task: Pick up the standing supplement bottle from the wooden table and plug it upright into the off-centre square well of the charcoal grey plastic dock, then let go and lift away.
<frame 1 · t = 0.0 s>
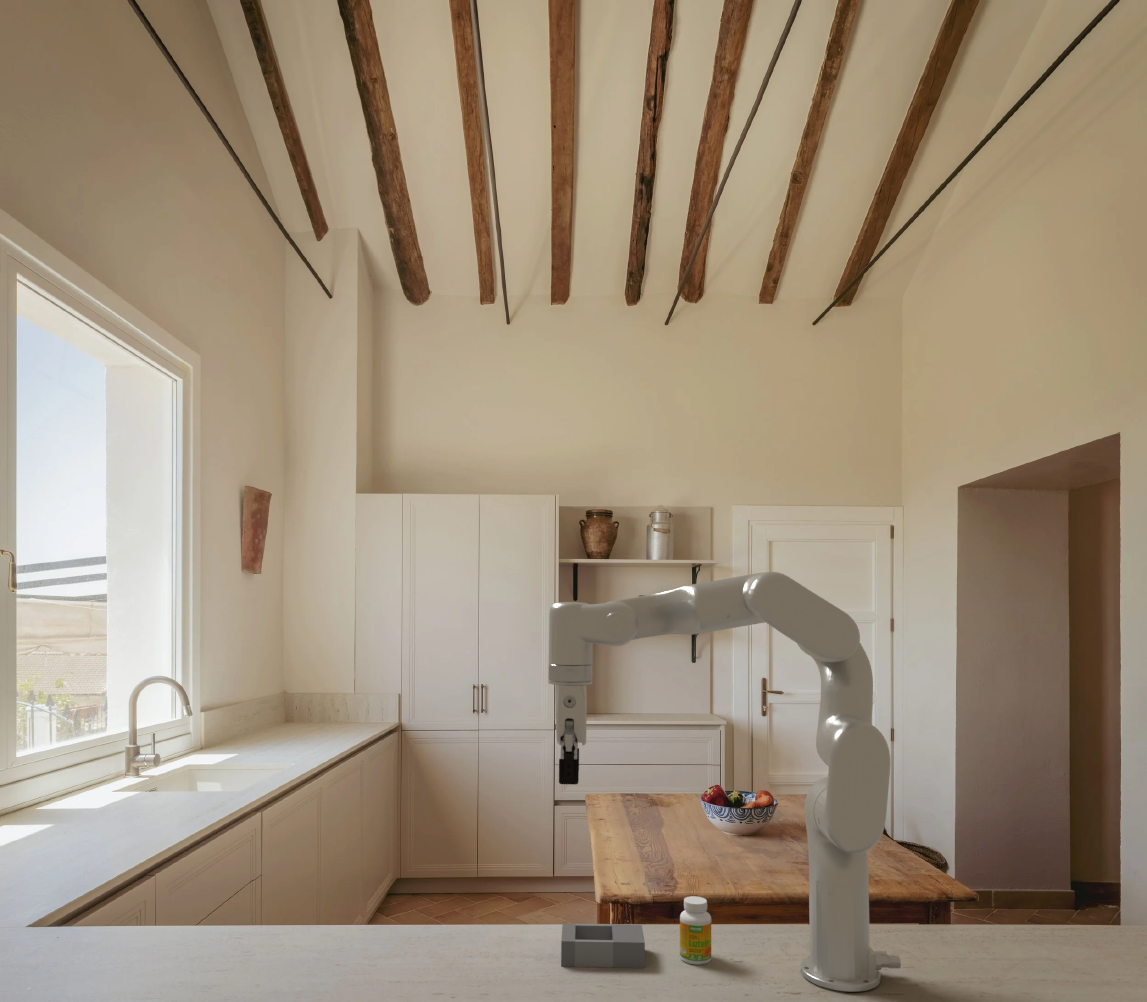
hand: (569, 777, 150), 31 cm above the countertop, tool pointing down, fingers open, 9 cm apart
dock: (602, 957, 153), on the countertop
supplement bottle: (695, 960, 153), on the countertop
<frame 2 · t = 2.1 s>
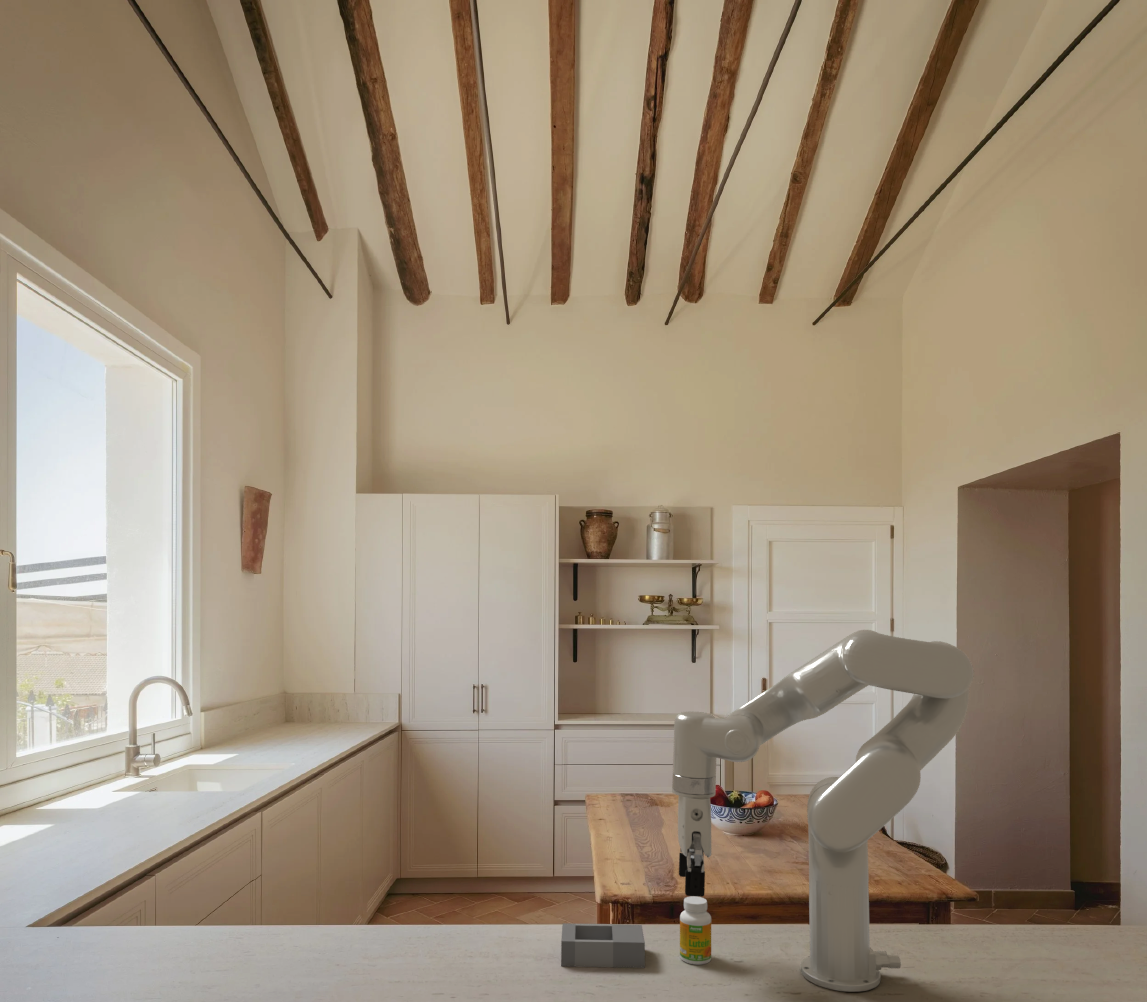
hand: (691, 885, 154), 12 cm above the countertop, tool pointing down, fingers open, 9 cm apart
nothing on the countertop moved.
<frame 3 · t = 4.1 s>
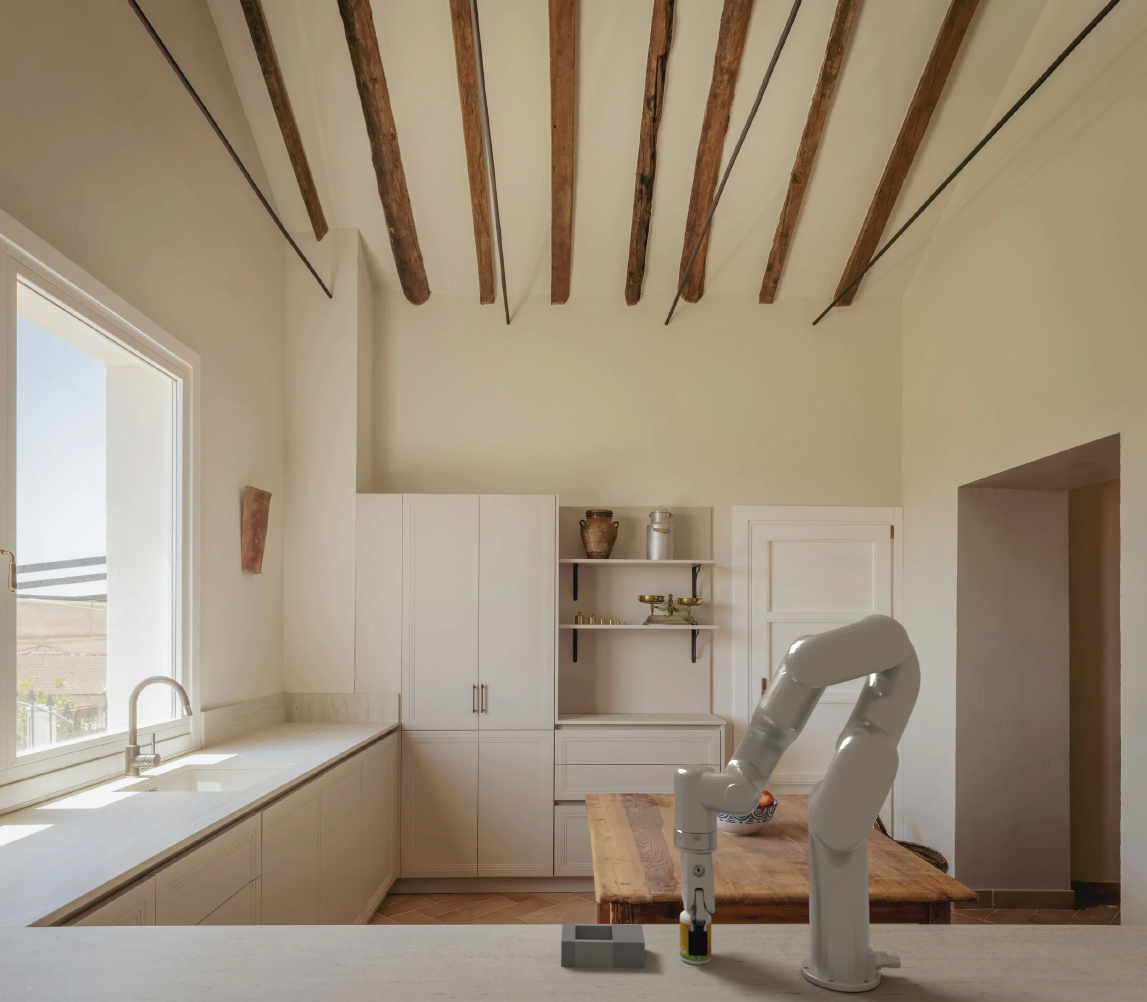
hand: (695, 946, 153), 2 cm above the countertop, tool pointing down, fingers closed on supplement bottle, 5 cm apart
supplement bottle: (695, 960, 153), on the countertop, touching gripper
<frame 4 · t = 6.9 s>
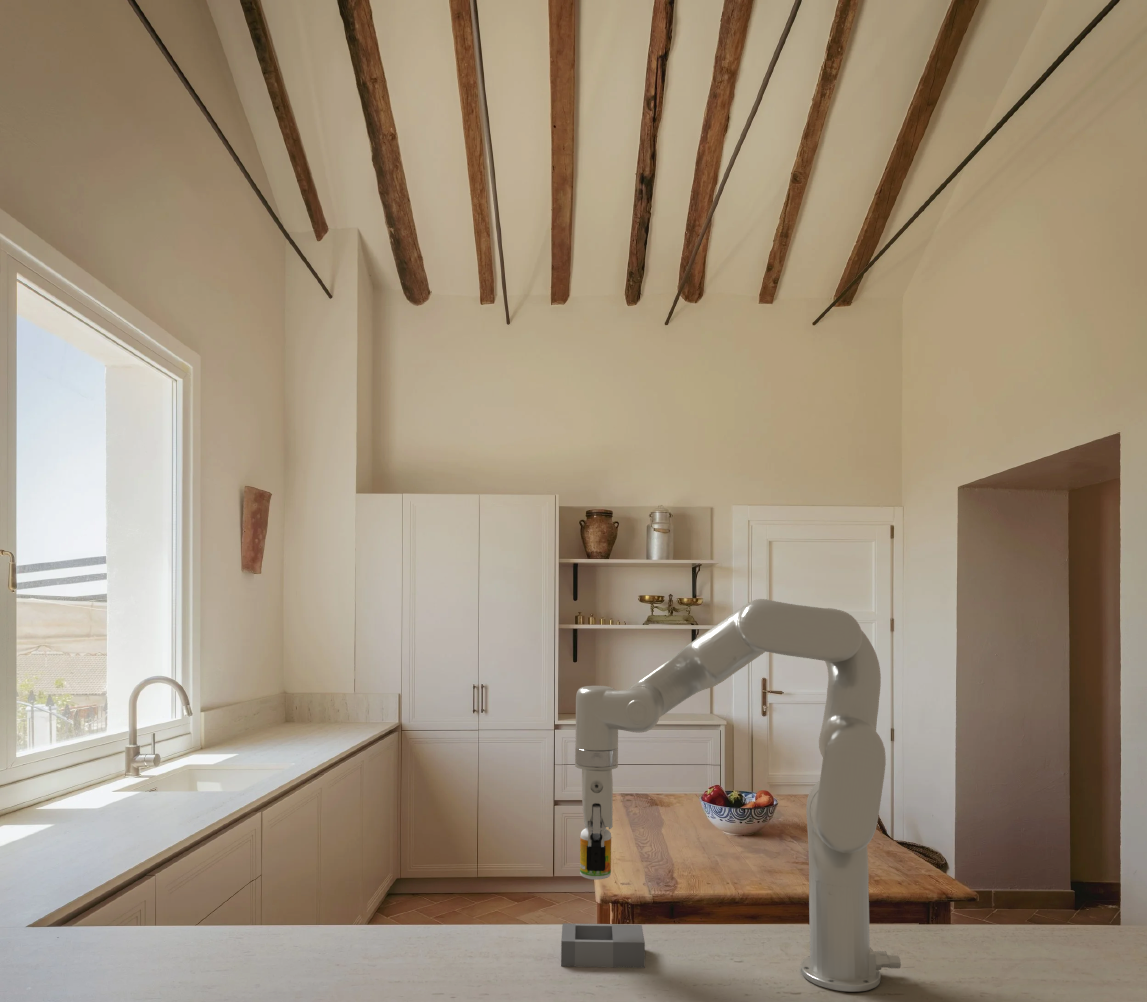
hand: (595, 863, 154), 15 cm above the countertop, tool pointing down, fingers closed on supplement bottle, 5 cm apart
supplement bottle: (595, 876, 154), point 13 cm above the countertop, touching gripper
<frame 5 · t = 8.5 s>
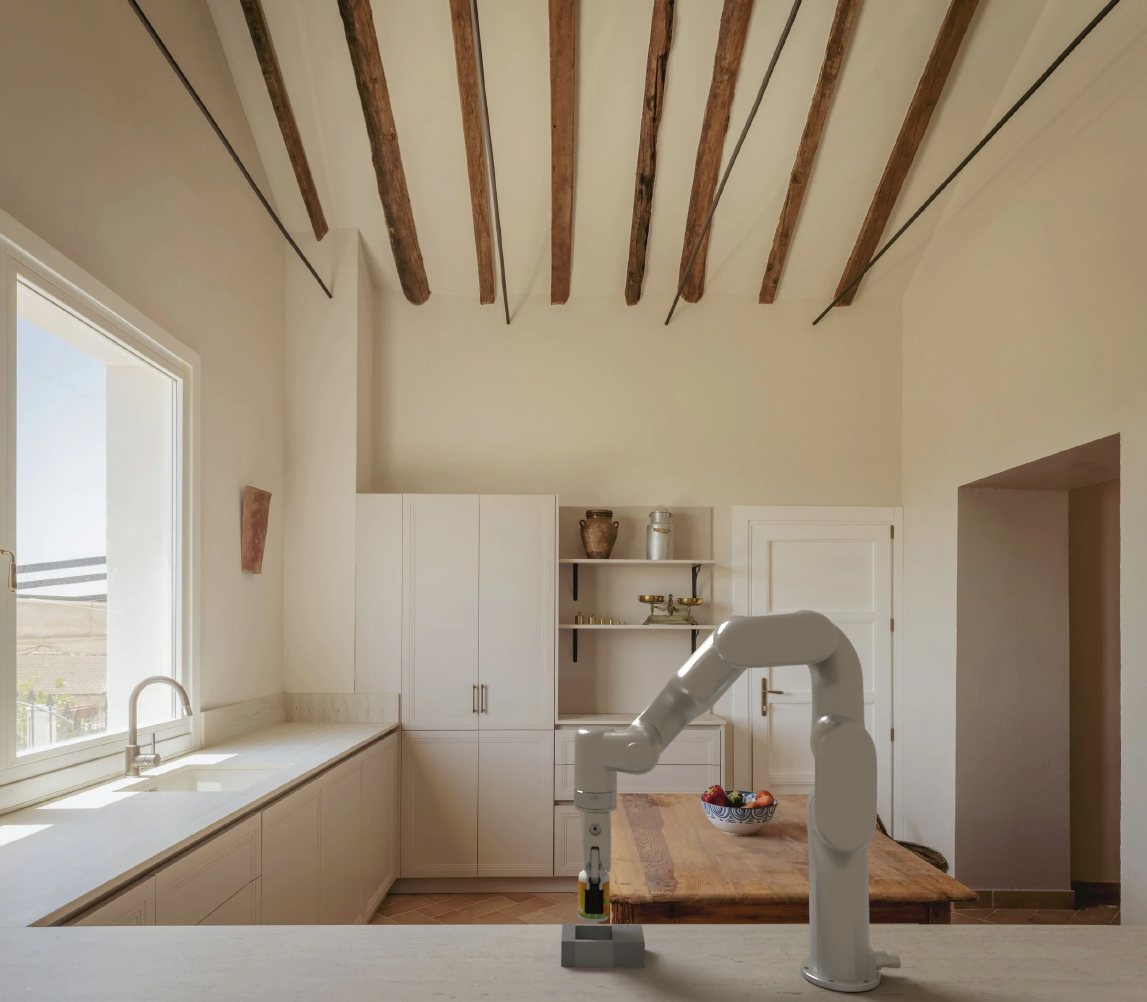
hand: (593, 905, 154), 8 cm above the countertop, tool pointing down, fingers closed on supplement bottle, 5 cm apart
supplement bottle: (593, 918, 153), point 6 cm above the countertop, touching gripper
when the fingers open (4 cm above the countertop, at t = 9.9 s): supplement bottle drops 2 cm, resting in dock.
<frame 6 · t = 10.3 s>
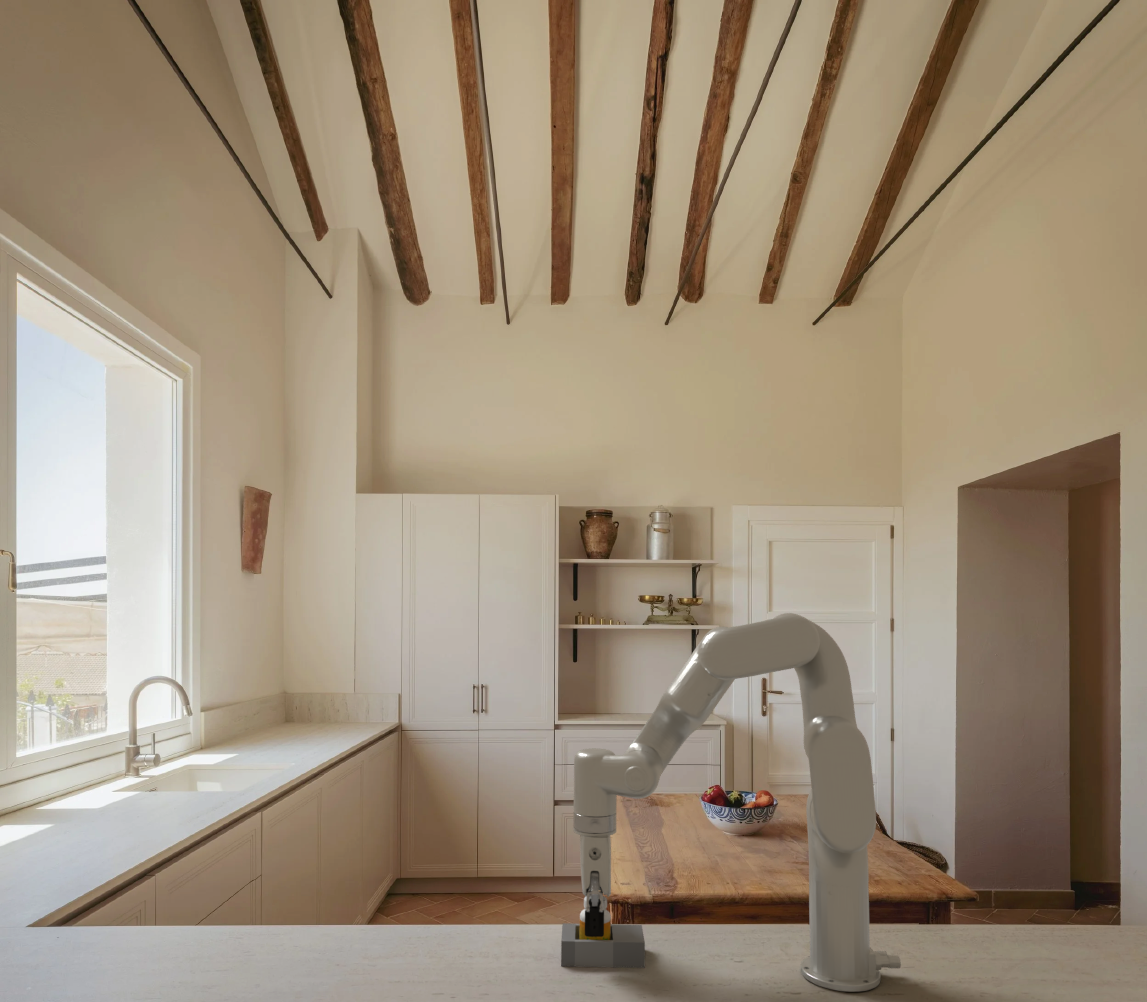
hand: (593, 925, 153), 5 cm above the countertop, tool pointing down, fingers open, 9 cm apart
supplement bottle: (594, 958, 153), resting in dock
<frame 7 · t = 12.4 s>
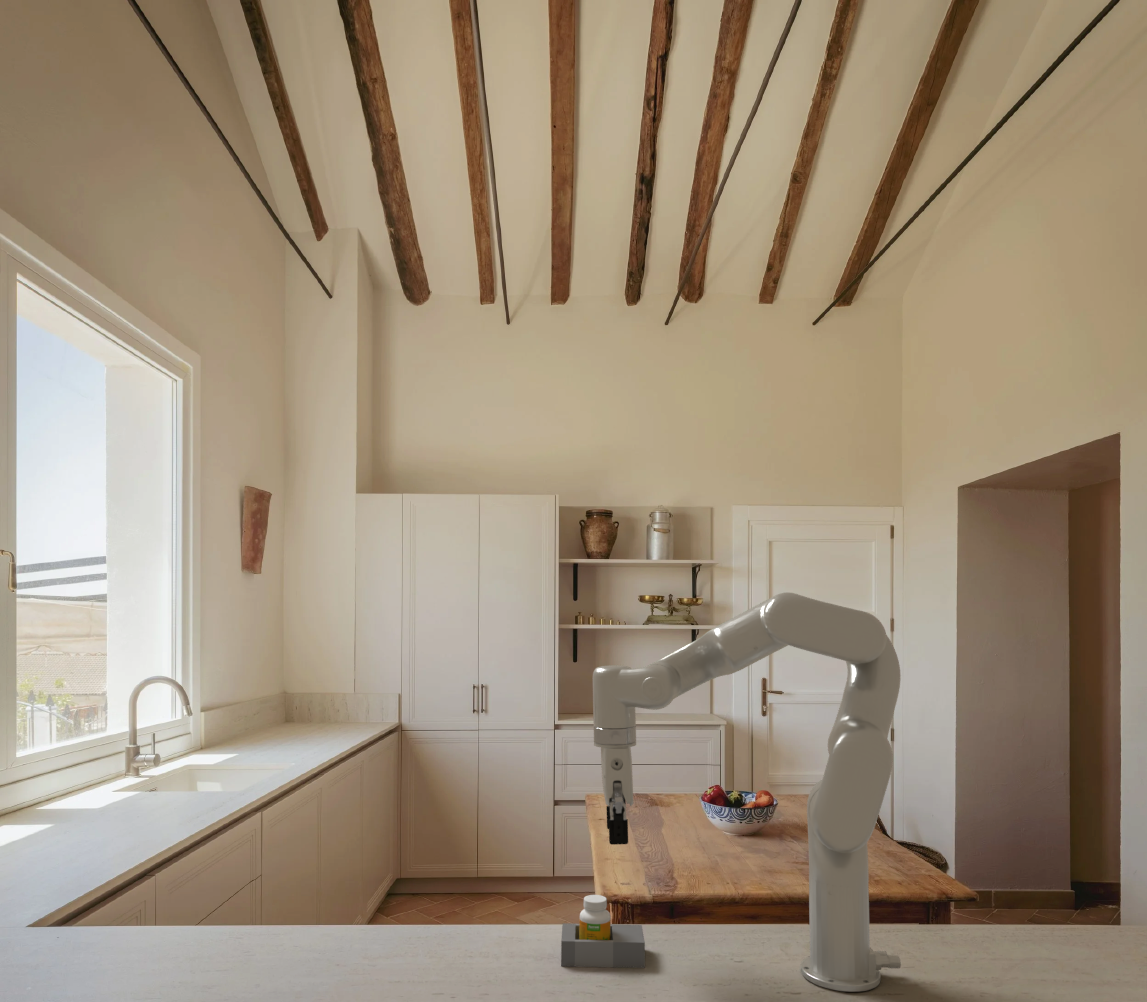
hand: (617, 836, 156), 20 cm above the countertop, tool pointing down, fingers open, 9 cm apart
nothing on the countertop moved.
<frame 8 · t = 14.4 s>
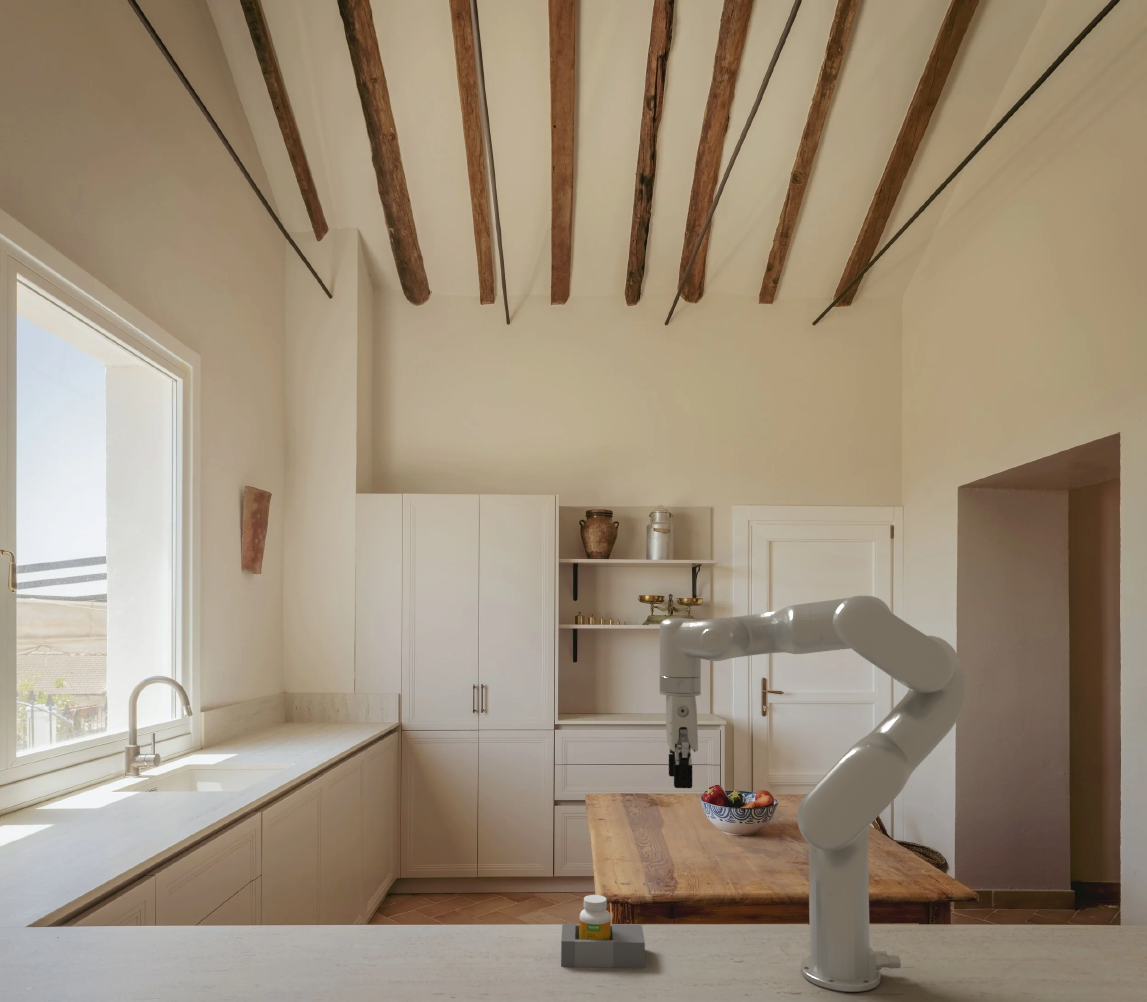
hand: (680, 781, 161), 28 cm above the countertop, tool pointing down, fingers open, 9 cm apart
nothing on the countertop moved.
at the end: supplement bottle 0.2 cm from the target spot on the dock, point 0.0 cm above the dock's base; supplement bottle tilted 0°; the gripper is holding nothing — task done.
